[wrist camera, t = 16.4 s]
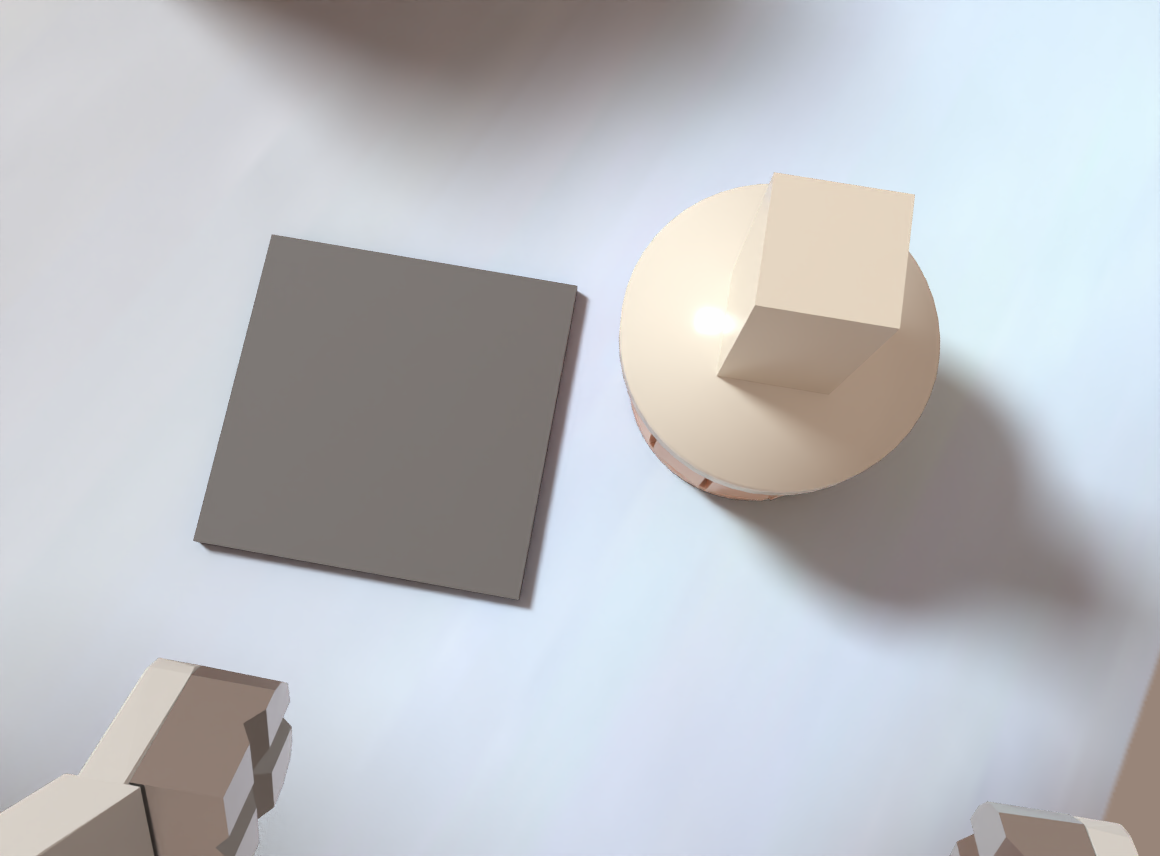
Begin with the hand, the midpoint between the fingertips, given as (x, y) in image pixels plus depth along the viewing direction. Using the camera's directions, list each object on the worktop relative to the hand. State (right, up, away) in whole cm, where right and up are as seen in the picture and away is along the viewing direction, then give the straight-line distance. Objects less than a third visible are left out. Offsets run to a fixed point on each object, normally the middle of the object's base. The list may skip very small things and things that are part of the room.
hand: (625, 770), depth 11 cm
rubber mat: (-8, +5, +25) cm, 27 cm away
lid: (+6, +7, +20) cm, 22 cm away
